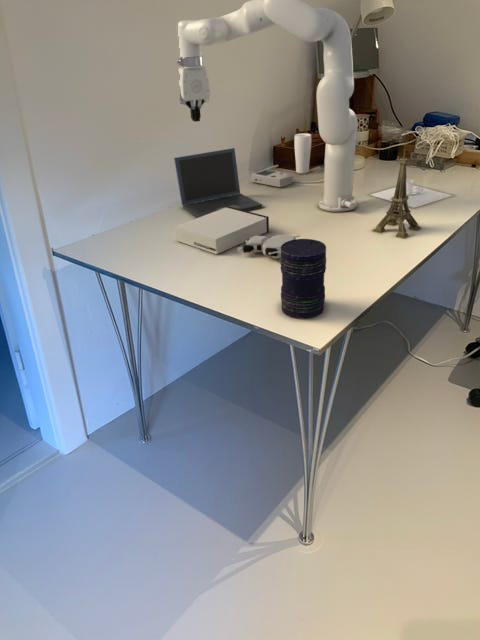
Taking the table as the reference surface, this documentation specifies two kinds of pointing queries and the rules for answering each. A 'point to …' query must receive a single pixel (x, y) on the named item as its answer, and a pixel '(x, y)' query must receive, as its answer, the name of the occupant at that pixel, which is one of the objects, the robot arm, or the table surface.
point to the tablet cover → (207, 176)
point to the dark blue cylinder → (303, 278)
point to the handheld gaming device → (272, 178)
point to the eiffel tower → (399, 201)
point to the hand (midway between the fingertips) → (196, 120)
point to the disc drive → (222, 229)
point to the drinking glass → (302, 152)
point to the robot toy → (266, 245)
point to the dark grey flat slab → (221, 205)
